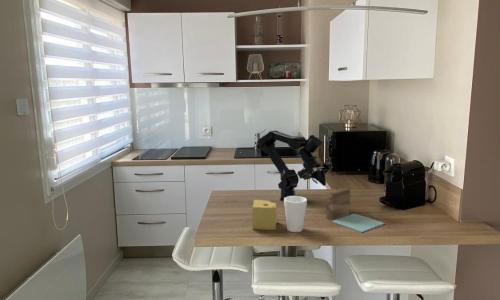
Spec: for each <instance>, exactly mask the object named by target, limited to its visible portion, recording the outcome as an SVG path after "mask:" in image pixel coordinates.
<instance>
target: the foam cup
mask: <svg viewBox="0 0 500 300" xmlns="http://www.w3.org/2000/svg"><path fill="white" fill-rule="evenodd" d="M307 202H308V199H307V198H306V197H304V196H298V195H295V196H289V197H285V198H284V201H283V206H284V213H285V219H286V220H285V221H286V229H287V231H288V232H292V233H299V232H300V233H301V232H302V231H303V229H304V222H305V216H306V215H305V214H306V210H307V207H308V203H307Z"/></svg>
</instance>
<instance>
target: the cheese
mask: <svg viewBox="0 0 500 300" xmlns="http://www.w3.org/2000/svg"><path fill="white" fill-rule="evenodd" d="M251 209H252V211H251V213H252V214H251V216H252V218H251V220H252V223H251V224H252V225H251V226H252V230H264V231H265V230H266V231H269V230H270V231H276V229H277V228H276V227H277V223H278V222H277V221H278V214H277V209H278V207H277V202H272V201H270V200H265V199H264V200H263V199H253V204H252V208H251Z"/></svg>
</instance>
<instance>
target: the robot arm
mask: <svg viewBox="0 0 500 300" xmlns="http://www.w3.org/2000/svg"><path fill="white" fill-rule="evenodd" d="M277 141H279V142H281V143H283V144H286V145H288V146H289V148H291V149H293V150H295V151H296V150H297V151H296V153H295V157H300V159H301V161H302V162H303V164H302V166H303V167H302V169H300V170H298V171H297V172H296V170H294V168H292V169H289V168H288V166H287V164H286V163H285V161H284V160H283V158H282V157H281V155H280V154H279V153H278V151H277V150H276V142H277ZM322 142H323V141H322V140H321V139H320V138H319V137H316V136H315V135H314V134H311V135H310V136H308V139H306V137H304V136H292V135H289V134H287V133H283V132H281V131H279V130H270V131H268V132H267V133H266V134H265V135H263V136H261V137H260V138H259V139H258V141H257V146H258V148H259V149H260V150H261V151H262V152H264V153H266V154H267V156H268V157H269V158H270V160H271V162H272V164H273V165H274V166H275V168H276V169H277V171H278V172H279V175H280V181H279V183H278V184H277V186H278V189H280V198H279V201H283V202H284V198H285V197H289V196H296V191H295V188H297V187H298V184H299V180H302V179H303V180H304V181H307V180H310V179H314V180H316V181H317V182H318V183H319V184H321V185H322V186H323V187H324V186H327V182H326V174H327V173H329V171H331V169H332V168H333V165H332V163H330V162H326V163H323V165H322V164H321V162H318V161H317V159H318V158H317V156H316V155H315V156H314V153H316V151H317V150H319V149H320V147H321V146H322V145H323V143H322Z"/></svg>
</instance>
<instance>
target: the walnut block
mask: <svg viewBox="0 0 500 300" xmlns="http://www.w3.org/2000/svg"><path fill="white" fill-rule="evenodd" d="M350 198H351V189H350V188H346V187H343V188H339V189H335V190H331V191H328V192H326V209H325V211H326V214H325V218H326V219H328V220H329V221H333V220H336V219H339V218H342V217H345V216H348V215H350V203H351V202H350V200H351V199H350Z"/></svg>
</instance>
